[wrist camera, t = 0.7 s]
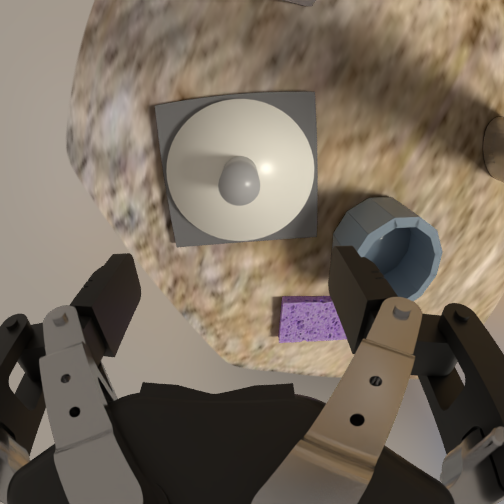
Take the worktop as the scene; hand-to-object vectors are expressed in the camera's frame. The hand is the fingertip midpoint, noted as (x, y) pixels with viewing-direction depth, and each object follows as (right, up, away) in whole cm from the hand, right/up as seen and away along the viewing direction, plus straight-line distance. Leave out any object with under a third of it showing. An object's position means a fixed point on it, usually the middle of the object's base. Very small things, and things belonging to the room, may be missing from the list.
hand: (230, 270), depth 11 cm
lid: (0, +8, +15) cm, 18 cm away
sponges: (+11, -8, +26) cm, 29 cm away
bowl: (+15, +2, +20) cm, 25 cm away
